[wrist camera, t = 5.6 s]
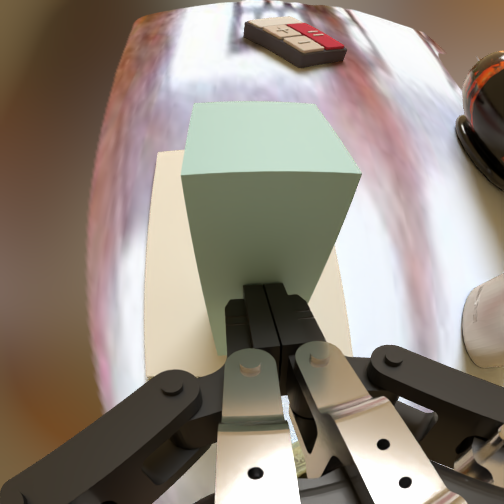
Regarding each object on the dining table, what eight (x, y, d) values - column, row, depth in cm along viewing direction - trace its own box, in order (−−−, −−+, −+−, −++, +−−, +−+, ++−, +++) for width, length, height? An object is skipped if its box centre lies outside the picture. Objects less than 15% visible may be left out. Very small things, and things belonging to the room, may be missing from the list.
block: (284, 350, 18) (361, 173, 6) (217, 355, 17) (180, 175, 6) (275, 293, 20) (314, 104, 9) (215, 297, 20) (194, 103, 9)
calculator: (304, 51, 31) (244, 18, 35) (298, 73, 35) (242, 37, 39) (349, 46, 34) (291, 13, 38) (342, 64, 38) (287, 30, 42)
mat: (348, 359, 19) (353, 359, 19) (149, 375, 18) (146, 376, 17) (308, 152, 27) (309, 147, 26) (159, 157, 25) (158, 152, 25)
